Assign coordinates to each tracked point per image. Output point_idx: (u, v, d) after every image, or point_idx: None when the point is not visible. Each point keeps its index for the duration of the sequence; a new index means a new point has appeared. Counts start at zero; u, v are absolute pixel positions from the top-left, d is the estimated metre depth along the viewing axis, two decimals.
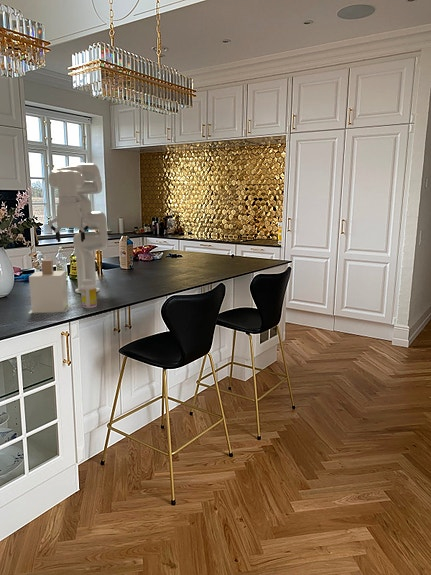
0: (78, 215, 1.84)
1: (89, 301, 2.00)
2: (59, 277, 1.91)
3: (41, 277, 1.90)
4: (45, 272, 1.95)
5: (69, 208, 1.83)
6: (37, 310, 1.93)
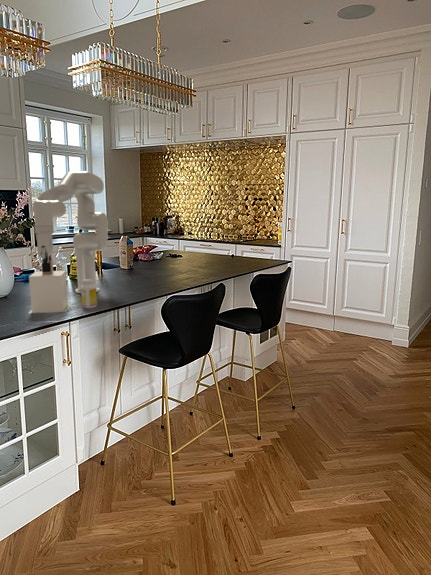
0: (52, 242, 1.98)
1: (89, 301, 2.00)
2: (59, 277, 1.91)
3: (41, 277, 1.90)
4: (45, 272, 1.95)
5: (51, 236, 1.94)
6: (37, 310, 1.93)
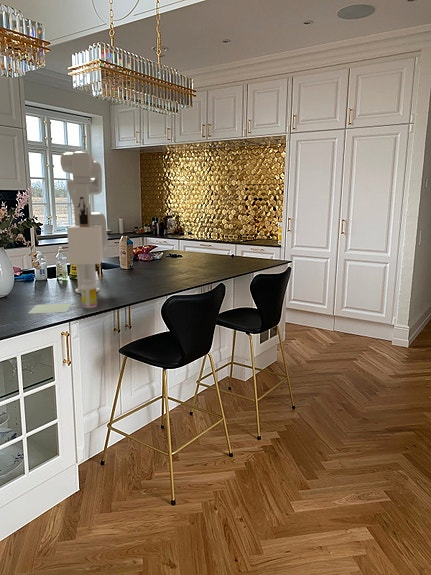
0: None
1: (89, 301, 2.00)
2: (97, 229, 1.91)
3: (79, 228, 1.90)
4: (82, 224, 1.94)
5: (88, 188, 1.94)
6: (74, 262, 1.92)
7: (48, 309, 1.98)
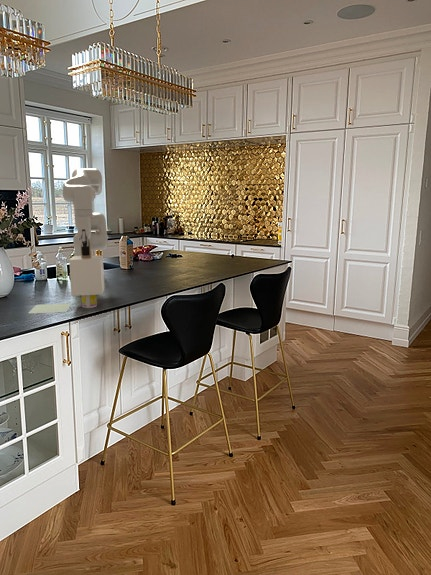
0: None
1: (89, 301, 2.00)
2: (99, 260, 1.94)
3: (81, 260, 1.92)
4: (84, 256, 1.97)
5: (90, 220, 1.97)
6: (76, 293, 1.95)
7: (48, 309, 1.98)
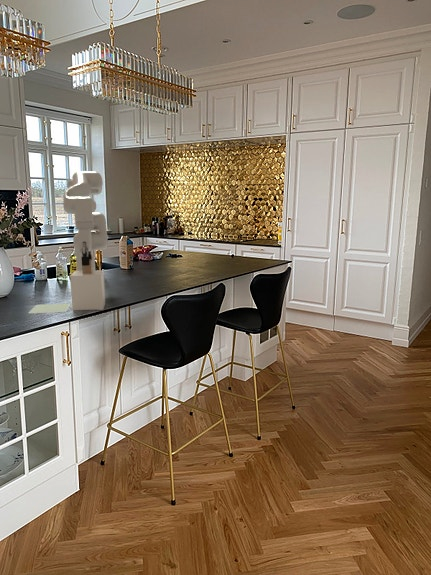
0: None
1: None
2: (99, 276, 1.95)
3: (82, 276, 1.94)
4: (85, 271, 1.98)
5: None
6: (77, 309, 1.97)
7: (48, 309, 1.98)
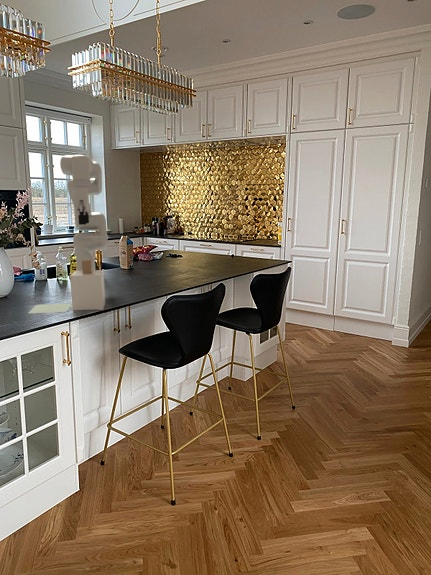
0: None
1: None
2: (99, 276, 1.95)
3: (82, 276, 1.94)
4: (85, 271, 1.98)
5: None
6: (77, 309, 1.97)
7: (48, 309, 1.98)
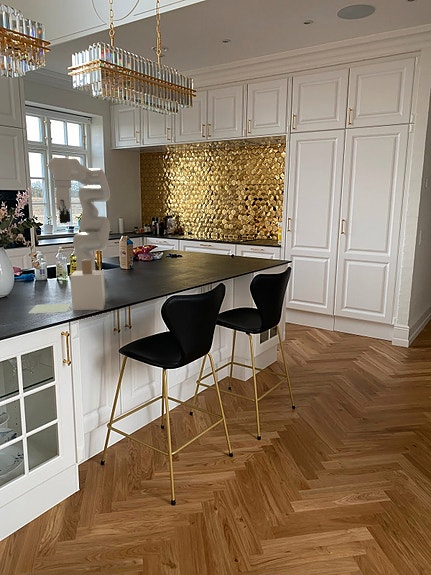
0: None
1: None
2: (99, 276, 1.95)
3: (82, 276, 1.94)
4: (85, 271, 1.98)
5: None
6: (77, 309, 1.97)
7: (48, 309, 1.98)
